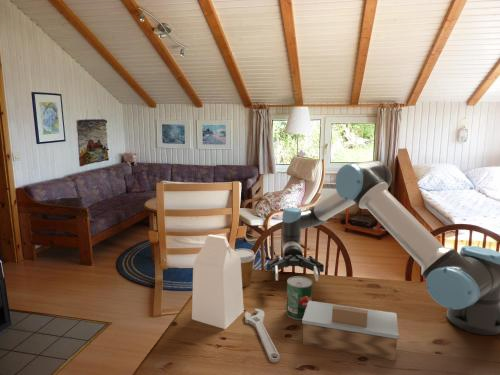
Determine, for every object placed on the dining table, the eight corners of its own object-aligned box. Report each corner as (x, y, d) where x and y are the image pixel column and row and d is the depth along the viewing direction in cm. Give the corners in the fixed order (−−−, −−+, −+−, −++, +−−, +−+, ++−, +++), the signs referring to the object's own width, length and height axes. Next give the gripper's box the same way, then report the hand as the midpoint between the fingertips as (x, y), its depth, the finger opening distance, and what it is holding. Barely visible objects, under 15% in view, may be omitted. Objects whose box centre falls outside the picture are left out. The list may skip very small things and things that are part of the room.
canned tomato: (288, 305, 127) (289, 274, 125) (312, 309, 125) (313, 277, 123) (284, 318, 120) (284, 285, 118) (309, 321, 118) (310, 288, 115)
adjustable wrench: (281, 363, 99) (281, 357, 99) (256, 366, 98) (256, 360, 98) (262, 313, 124) (262, 307, 123) (242, 314, 123) (242, 309, 122)
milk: (243, 311, 124) (243, 233, 119) (225, 329, 114) (224, 245, 109) (212, 302, 129) (210, 228, 124) (191, 319, 119) (189, 239, 114)
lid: (396, 316, 109) (397, 300, 108) (398, 339, 98) (399, 321, 97) (308, 303, 116) (309, 288, 115) (302, 323, 105) (302, 306, 104)
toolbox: (393, 337, 110) (394, 317, 109) (395, 360, 99) (397, 339, 98) (308, 323, 117) (309, 305, 116) (302, 344, 107) (303, 324, 105)
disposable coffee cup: (249, 276, 150) (249, 246, 147) (259, 286, 141) (259, 255, 139) (226, 280, 146) (225, 250, 144) (234, 290, 138) (234, 259, 135)
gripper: (324, 263, 152) (333, 288, 131) (260, 262, 153) (260, 286, 132) (325, 245, 150) (334, 267, 129) (260, 244, 151) (260, 266, 130)
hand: (296, 277), depth 131 cm, fingers open, 13 cm apart
